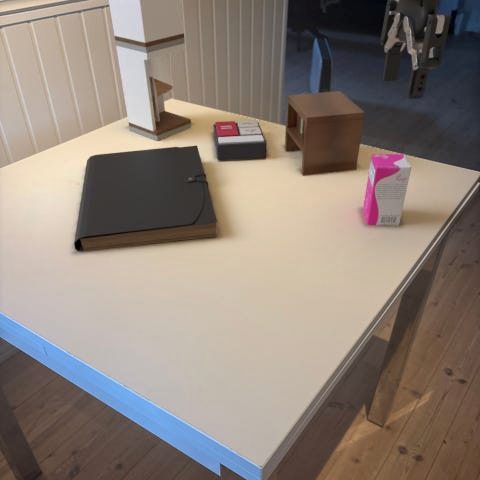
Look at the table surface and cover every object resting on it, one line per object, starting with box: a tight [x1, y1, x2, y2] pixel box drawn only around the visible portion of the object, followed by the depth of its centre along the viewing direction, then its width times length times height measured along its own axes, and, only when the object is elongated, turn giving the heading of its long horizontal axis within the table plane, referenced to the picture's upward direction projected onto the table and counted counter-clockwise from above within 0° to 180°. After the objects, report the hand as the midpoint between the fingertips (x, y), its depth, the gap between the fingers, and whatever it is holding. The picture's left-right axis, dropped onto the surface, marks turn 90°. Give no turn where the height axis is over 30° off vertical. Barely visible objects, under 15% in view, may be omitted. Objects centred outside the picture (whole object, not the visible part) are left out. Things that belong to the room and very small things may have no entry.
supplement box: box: [362, 153, 412, 227], centre depth 85 cm, size 6×6×12 cm
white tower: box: [108, 0, 192, 142], centre depth 112 cm, size 11×11×35 cm
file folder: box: [73, 145, 218, 252], centre depth 94 cm, size 33×4×24 cm
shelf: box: [284, 90, 366, 176], centre depth 105 cm, size 12×14×12 cm
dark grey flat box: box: [213, 119, 267, 162], centre depth 113 cm, size 11×4×15 cm
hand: (401, 88), depth 72 cm, fingers open, 8 cm apart
